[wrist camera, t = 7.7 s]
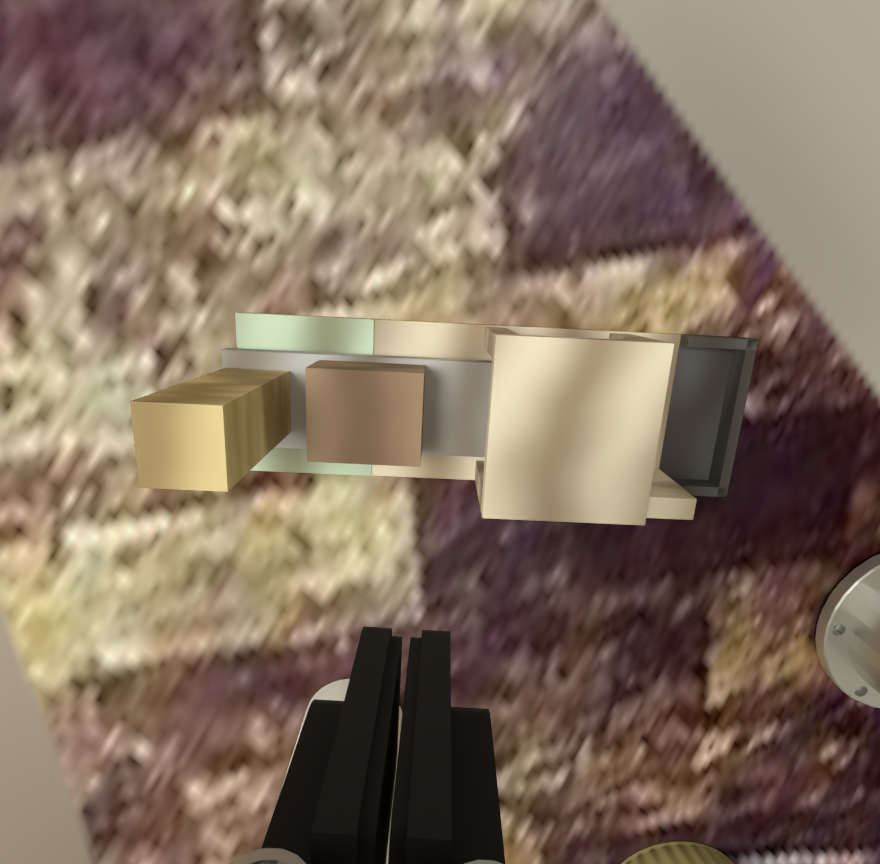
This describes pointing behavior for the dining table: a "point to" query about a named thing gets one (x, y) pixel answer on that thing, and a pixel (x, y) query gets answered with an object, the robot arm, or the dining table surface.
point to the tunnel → (558, 413)
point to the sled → (309, 414)
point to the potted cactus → (678, 854)
